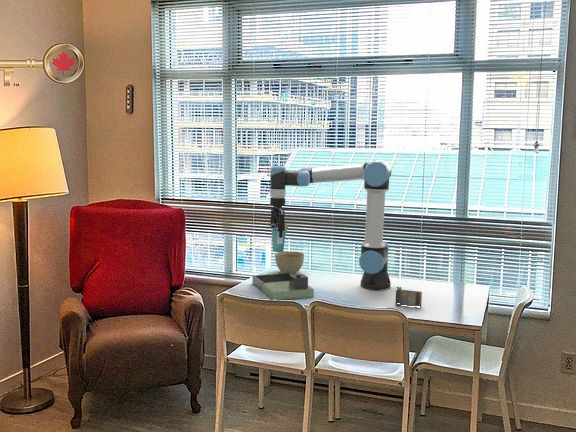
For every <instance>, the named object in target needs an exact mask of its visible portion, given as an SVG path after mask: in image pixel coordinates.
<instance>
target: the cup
mask: <svg viewBox="0 0 576 432" xmlns="http://www.w3.org/2000/svg"><path fill="white" fill-rule="evenodd" d="M273 225H274V228H275V229H273V230H272V229H271V231H270V232H271V241H272V252H274V253H279V252H284V249H285V240H286V234H287V231H288V229H289V225H288V223H287V222H285V230H283V244H277V230H278V228H277V229H276V225H275V224H274V223H273V224H272V225H270V224H269V227H270V228H272V227H271V226H273Z"/></svg>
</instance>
